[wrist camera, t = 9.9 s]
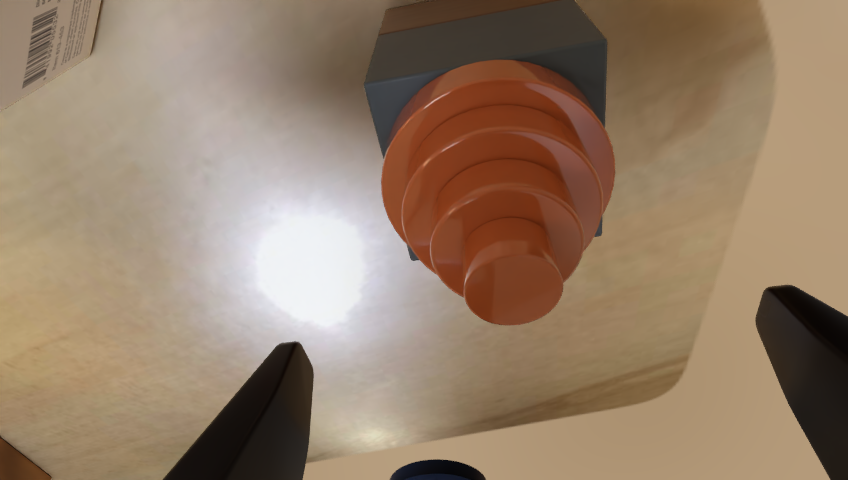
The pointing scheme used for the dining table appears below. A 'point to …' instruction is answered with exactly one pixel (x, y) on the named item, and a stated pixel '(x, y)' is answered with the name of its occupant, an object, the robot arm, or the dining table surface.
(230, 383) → the dining table surface
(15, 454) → the stand
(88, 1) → the ink box
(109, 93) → the dining table surface
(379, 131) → the top block
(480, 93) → the cone
